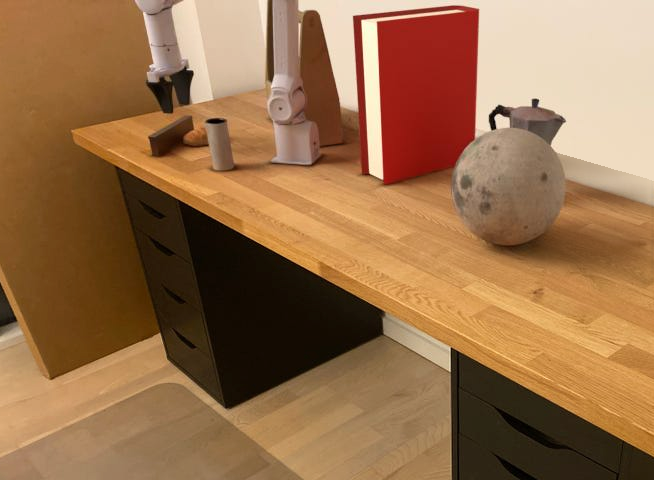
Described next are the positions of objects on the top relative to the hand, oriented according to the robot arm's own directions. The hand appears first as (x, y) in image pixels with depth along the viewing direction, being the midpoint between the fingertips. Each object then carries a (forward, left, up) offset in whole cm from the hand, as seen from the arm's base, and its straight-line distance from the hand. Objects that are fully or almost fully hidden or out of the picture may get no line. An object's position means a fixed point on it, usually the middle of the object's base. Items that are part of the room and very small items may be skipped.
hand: (176, 108), depth 163 cm
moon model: (-79, +34, -10) cm, 87 cm away
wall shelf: (+5, -5, -10) cm, 12 cm away
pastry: (-1, -9, -10) cm, 13 cm away
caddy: (-21, -23, -10) cm, 33 cm away
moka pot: (-80, +12, -10) cm, 82 cm away
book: (-56, -2, -10) cm, 57 cm away
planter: (-13, +8, -10) cm, 18 cm away
